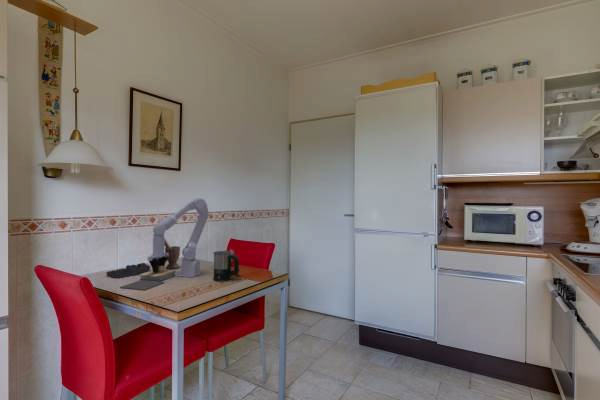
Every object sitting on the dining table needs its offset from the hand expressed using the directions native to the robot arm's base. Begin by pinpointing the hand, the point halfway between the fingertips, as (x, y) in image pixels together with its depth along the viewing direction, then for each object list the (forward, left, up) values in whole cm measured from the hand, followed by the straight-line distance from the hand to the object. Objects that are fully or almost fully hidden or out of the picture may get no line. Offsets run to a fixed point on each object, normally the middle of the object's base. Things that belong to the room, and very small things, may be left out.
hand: (158, 271), depth 168 cm
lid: (0, 0, -1) cm, 1 cm away
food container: (-22, -38, -3) cm, 44 cm away
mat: (-3, +15, -3) cm, 16 cm away
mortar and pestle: (+8, -21, -3) cm, 23 cm away
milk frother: (-35, -11, -4) cm, 37 cm away
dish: (0, 0, -3) cm, 3 cm away
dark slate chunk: (+22, -4, -4) cm, 22 cm away
